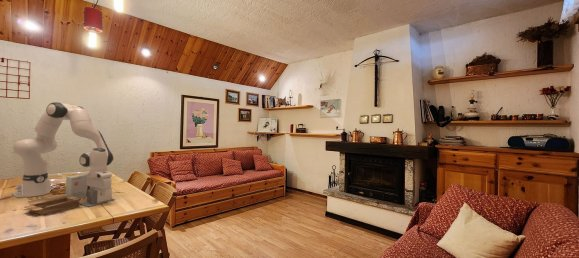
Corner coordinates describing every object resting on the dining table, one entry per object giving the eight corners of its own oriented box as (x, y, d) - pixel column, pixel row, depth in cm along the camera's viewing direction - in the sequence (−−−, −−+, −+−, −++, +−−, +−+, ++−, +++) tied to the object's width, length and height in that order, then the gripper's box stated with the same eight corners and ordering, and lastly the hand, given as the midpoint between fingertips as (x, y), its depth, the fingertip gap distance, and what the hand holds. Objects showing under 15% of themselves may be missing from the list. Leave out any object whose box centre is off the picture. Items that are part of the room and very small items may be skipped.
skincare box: (71, 201, 160) (71, 177, 159) (64, 201, 161) (65, 176, 160) (102, 193, 180) (102, 171, 180) (95, 192, 181) (96, 171, 181)
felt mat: (79, 204, 155) (79, 204, 155) (106, 198, 169) (106, 197, 169) (88, 207, 151) (88, 206, 151) (115, 200, 166) (115, 199, 166)
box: (86, 203, 157) (87, 190, 156) (106, 198, 168) (107, 186, 168) (91, 204, 155) (92, 191, 155) (111, 199, 166) (112, 187, 166)
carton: (20, 212, 140) (21, 202, 140) (69, 200, 161) (69, 192, 161) (38, 218, 133) (39, 208, 133) (87, 205, 154) (87, 197, 154)
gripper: (83, 172, 161) (82, 193, 161) (103, 176, 153) (102, 198, 153) (93, 170, 167) (93, 190, 167) (113, 174, 159) (113, 195, 159)
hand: (97, 194), depth 160 cm, fingers open, 8 cm apart
